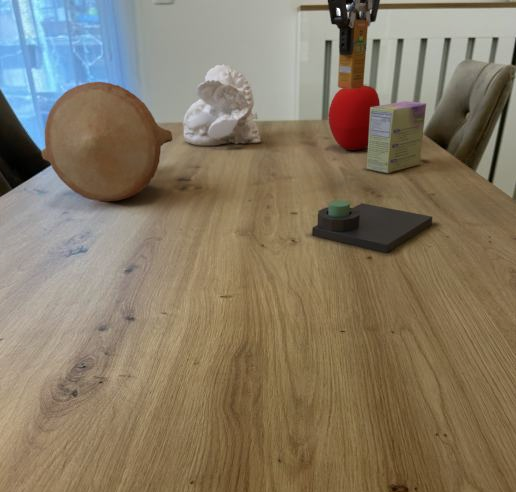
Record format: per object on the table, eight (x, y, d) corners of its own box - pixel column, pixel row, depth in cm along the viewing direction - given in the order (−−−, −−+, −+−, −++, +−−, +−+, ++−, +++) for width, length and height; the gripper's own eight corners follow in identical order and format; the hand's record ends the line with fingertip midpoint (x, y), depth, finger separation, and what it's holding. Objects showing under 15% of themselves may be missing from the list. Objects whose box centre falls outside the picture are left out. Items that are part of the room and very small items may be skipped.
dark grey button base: (358, 209, 89) (360, 191, 88) (431, 224, 82) (434, 204, 81) (309, 234, 80) (309, 214, 78) (386, 253, 73) (388, 231, 72)
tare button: (335, 210, 81) (336, 198, 80) (353, 214, 79) (353, 202, 78) (324, 216, 79) (324, 204, 78) (342, 219, 77) (342, 207, 76)
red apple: (365, 156, 121) (370, 85, 114) (318, 151, 126) (320, 83, 119) (385, 145, 130) (391, 79, 123) (341, 141, 135) (344, 77, 128)
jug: (4, 141, 85) (53, 130, 112) (94, 234, 92) (120, 203, 119) (95, 50, 81) (123, 62, 108) (183, 154, 88) (189, 140, 115)
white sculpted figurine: (171, 98, 143) (233, 51, 135) (217, 164, 152) (277, 123, 144) (151, 114, 128) (219, 62, 120) (203, 186, 136) (269, 142, 128)
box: (397, 160, 117) (403, 100, 111) (420, 165, 113) (427, 102, 107) (365, 169, 111) (369, 106, 105) (387, 174, 107) (393, 109, 101)
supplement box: (352, 89, 92) (354, 20, 87) (337, 88, 95) (338, 20, 89) (365, 87, 94) (368, 19, 89) (350, 85, 96) (352, 19, 91)
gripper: (354, -83, 76) (349, 57, 85) (402, -75, 85) (393, 50, 94) (310, -75, 80) (309, 57, 89) (360, -69, 90) (355, 50, 98)
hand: (352, 53), depth 92 cm, fingers closed on supplement box, 3 cm apart
